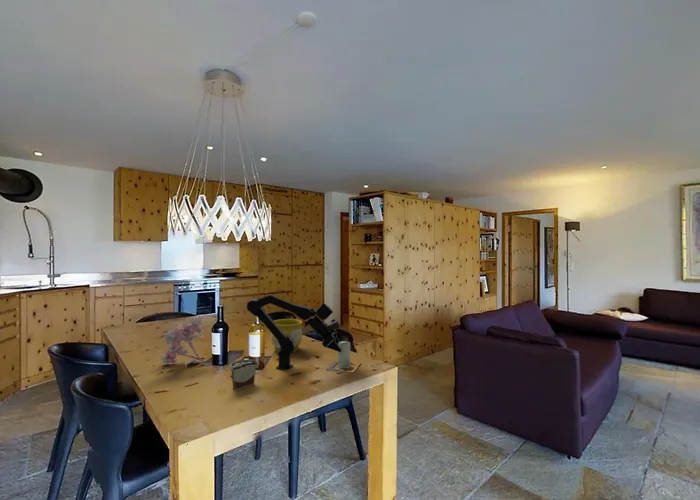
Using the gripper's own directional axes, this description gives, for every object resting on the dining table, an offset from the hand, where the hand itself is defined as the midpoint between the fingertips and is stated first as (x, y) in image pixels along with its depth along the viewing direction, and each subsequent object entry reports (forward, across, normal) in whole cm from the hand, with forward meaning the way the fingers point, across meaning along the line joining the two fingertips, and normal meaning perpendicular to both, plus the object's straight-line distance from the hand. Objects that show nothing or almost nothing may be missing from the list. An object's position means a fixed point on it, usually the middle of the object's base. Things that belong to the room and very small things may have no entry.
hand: (341, 348), depth 177 cm
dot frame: (+7, 0, +5) cm, 9 cm away
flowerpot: (-17, +29, +29) cm, 44 cm away
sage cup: (+7, 0, +5) cm, 9 cm away
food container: (-24, -24, +36) cm, 50 cm away
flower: (-52, +2, +64) cm, 82 cm away
